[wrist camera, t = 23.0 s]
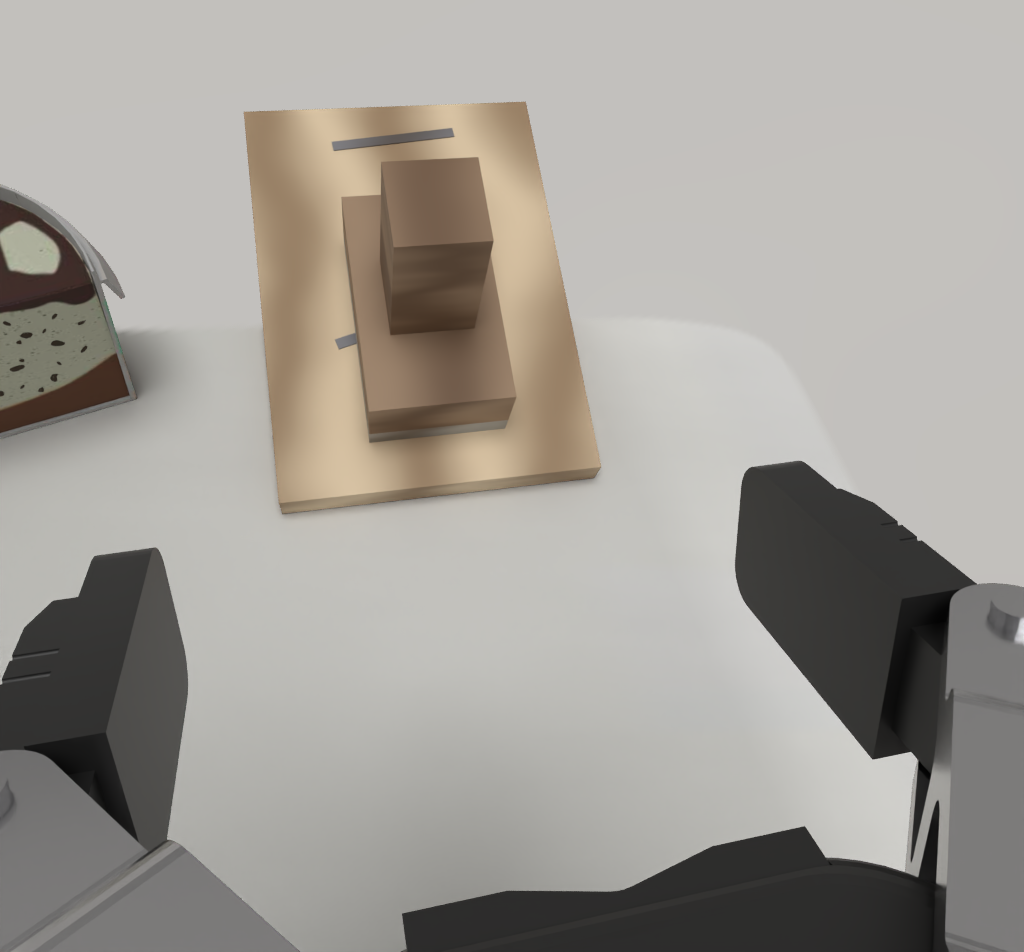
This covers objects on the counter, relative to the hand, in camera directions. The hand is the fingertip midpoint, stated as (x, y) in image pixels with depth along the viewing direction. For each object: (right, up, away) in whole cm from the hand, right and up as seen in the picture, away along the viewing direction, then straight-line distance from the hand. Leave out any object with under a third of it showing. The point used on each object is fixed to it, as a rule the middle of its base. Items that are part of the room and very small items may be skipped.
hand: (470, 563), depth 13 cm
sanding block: (-3, +8, +29) cm, 30 cm away
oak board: (-4, +10, +31) cm, 33 cm away
